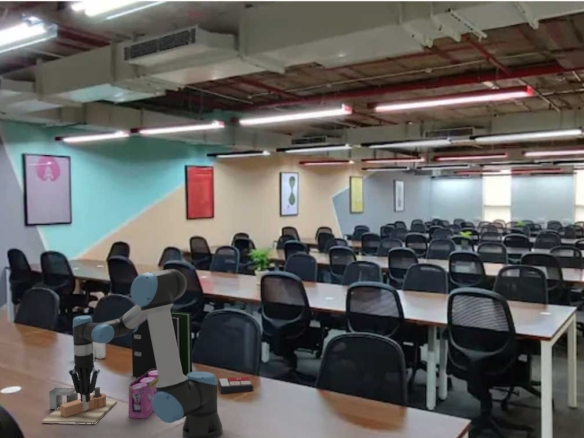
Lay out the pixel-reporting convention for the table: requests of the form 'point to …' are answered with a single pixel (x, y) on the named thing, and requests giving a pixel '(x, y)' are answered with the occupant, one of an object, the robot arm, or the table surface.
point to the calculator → (234, 385)
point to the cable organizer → (98, 350)
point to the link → (77, 405)
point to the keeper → (57, 396)
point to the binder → (144, 349)
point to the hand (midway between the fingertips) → (85, 409)
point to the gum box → (143, 394)
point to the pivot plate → (83, 413)
